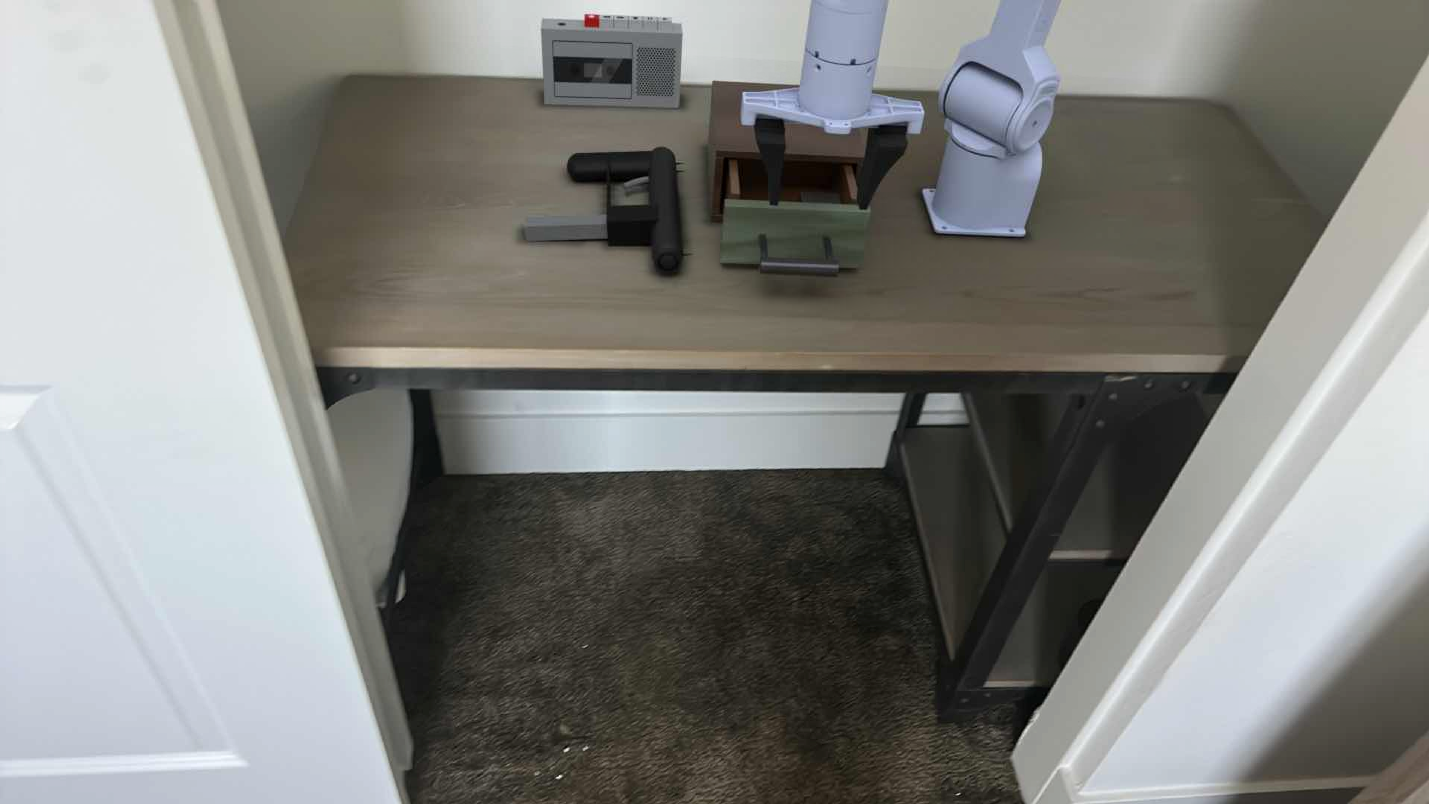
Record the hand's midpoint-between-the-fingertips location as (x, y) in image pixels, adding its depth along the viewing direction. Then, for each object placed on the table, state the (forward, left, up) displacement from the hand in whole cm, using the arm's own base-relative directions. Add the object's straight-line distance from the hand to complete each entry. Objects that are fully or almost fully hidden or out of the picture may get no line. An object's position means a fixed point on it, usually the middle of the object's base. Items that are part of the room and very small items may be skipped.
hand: (817, 201), depth 89 cm
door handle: (+18, -12, -11) cm, 24 cm away
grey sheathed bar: (+1, -9, -8) cm, 12 cm away
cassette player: (+19, -37, -11) cm, 43 cm away
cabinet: (+1, -20, -10) cm, 22 cm away
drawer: (+1, -8, -10) cm, 13 cm away
